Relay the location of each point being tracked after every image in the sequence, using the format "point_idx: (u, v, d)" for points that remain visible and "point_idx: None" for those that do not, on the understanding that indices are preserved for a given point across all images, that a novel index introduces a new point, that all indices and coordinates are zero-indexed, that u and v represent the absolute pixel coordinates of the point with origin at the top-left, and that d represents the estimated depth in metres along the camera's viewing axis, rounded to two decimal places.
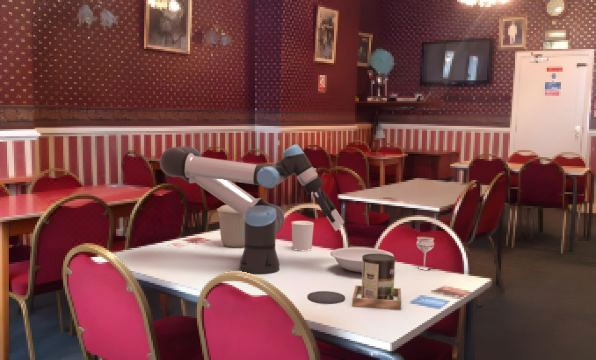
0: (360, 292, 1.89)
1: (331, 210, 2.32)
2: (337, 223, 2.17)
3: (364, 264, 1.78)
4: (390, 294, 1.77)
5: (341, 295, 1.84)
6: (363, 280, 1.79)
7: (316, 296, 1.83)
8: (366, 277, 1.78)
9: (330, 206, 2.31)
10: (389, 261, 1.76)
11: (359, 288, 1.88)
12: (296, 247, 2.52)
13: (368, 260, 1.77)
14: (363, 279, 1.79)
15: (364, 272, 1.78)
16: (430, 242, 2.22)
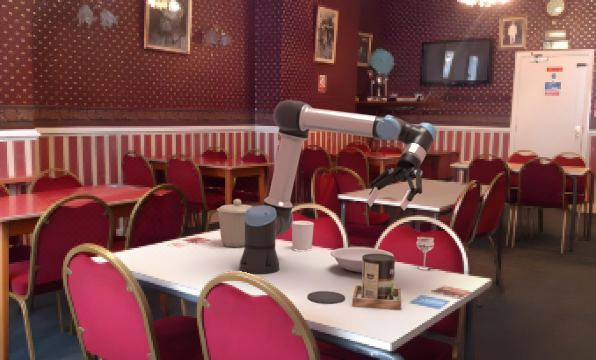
0: (360, 292, 1.89)
1: None
2: (406, 204, 1.89)
3: (364, 264, 1.78)
4: (390, 294, 1.77)
5: (341, 295, 1.84)
6: (363, 280, 1.79)
7: (316, 296, 1.83)
8: (366, 277, 1.78)
9: (382, 186, 2.01)
10: (389, 261, 1.76)
11: (359, 288, 1.88)
12: (296, 247, 2.52)
13: (368, 260, 1.77)
14: (363, 279, 1.79)
15: (364, 272, 1.78)
16: (430, 242, 2.22)
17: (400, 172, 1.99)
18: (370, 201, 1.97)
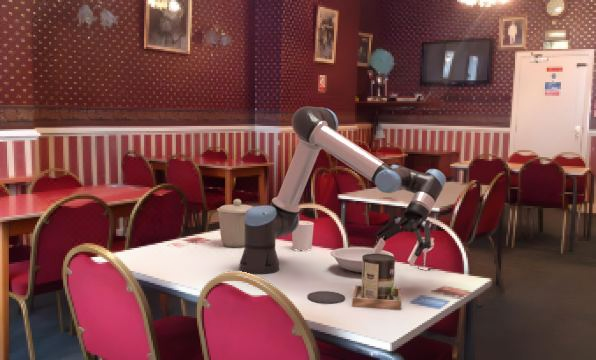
0: (360, 292, 1.89)
1: None
2: (414, 259, 1.80)
3: (364, 264, 1.78)
4: (390, 294, 1.77)
5: (341, 295, 1.84)
6: (363, 280, 1.79)
7: (316, 296, 1.83)
8: (366, 277, 1.78)
9: (388, 236, 1.91)
10: (389, 261, 1.76)
11: (359, 288, 1.88)
12: (296, 247, 2.52)
13: (368, 260, 1.77)
14: (363, 279, 1.79)
15: (364, 272, 1.78)
16: None
17: (407, 223, 1.89)
18: (376, 253, 1.88)
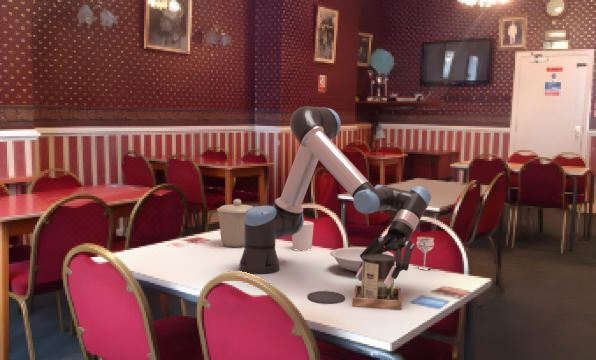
0: (360, 292, 1.89)
1: None
2: (391, 282, 1.76)
3: (364, 264, 1.78)
4: (390, 294, 1.77)
5: (341, 295, 1.84)
6: (363, 280, 1.79)
7: (316, 296, 1.83)
8: (366, 277, 1.78)
9: None
10: (389, 261, 1.76)
11: (359, 288, 1.88)
12: (296, 247, 2.52)
13: (368, 260, 1.77)
14: (363, 279, 1.79)
15: (364, 272, 1.78)
16: (430, 242, 2.22)
17: (391, 241, 1.85)
18: (360, 276, 1.82)
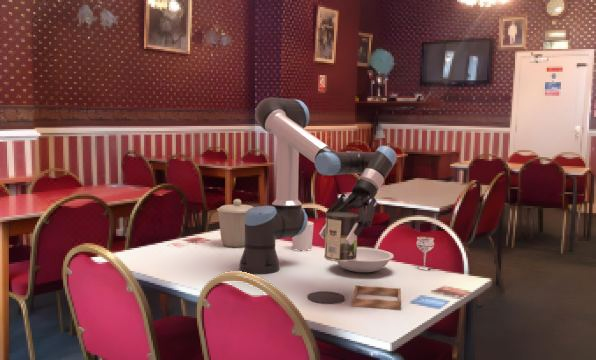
0: (360, 292, 1.89)
1: None
2: (353, 238, 1.76)
3: (327, 221, 1.78)
4: (352, 251, 1.77)
5: (341, 295, 1.84)
6: (326, 237, 1.79)
7: (316, 296, 1.83)
8: (329, 234, 1.77)
9: None
10: (352, 217, 1.75)
11: (359, 288, 1.88)
12: (296, 247, 2.52)
13: (331, 216, 1.76)
14: (326, 236, 1.79)
15: (327, 229, 1.78)
16: (430, 242, 2.22)
17: (355, 200, 1.84)
18: (323, 233, 1.82)
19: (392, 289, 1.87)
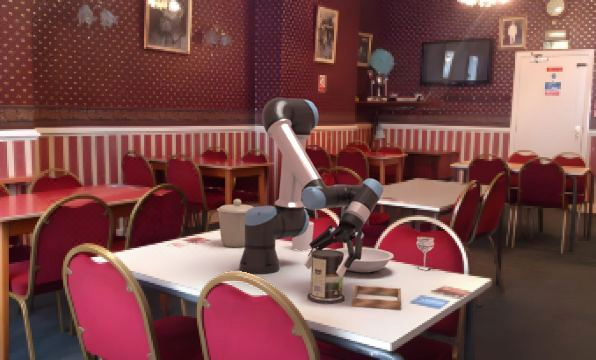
0: (360, 292, 1.89)
1: (315, 248, 1.88)
2: (344, 271, 1.77)
3: (312, 260, 1.80)
4: (338, 290, 1.79)
5: None
6: (312, 275, 1.81)
7: None
8: (314, 272, 1.79)
9: (322, 247, 1.88)
10: (336, 257, 1.77)
11: (359, 288, 1.88)
12: (296, 247, 2.52)
13: (316, 256, 1.78)
14: (312, 274, 1.81)
15: (312, 268, 1.80)
16: (430, 242, 2.22)
17: (341, 233, 1.86)
18: (308, 264, 1.85)
19: (392, 289, 1.87)
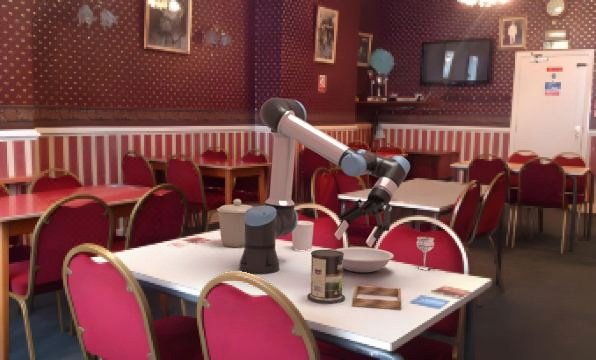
0: (360, 292, 1.89)
1: None
2: (373, 241, 1.88)
3: (312, 260, 1.80)
4: (338, 290, 1.79)
5: None
6: (312, 275, 1.81)
7: None
8: (314, 272, 1.79)
9: (351, 219, 1.99)
10: (336, 257, 1.77)
11: (359, 288, 1.88)
12: (296, 247, 2.52)
13: (316, 256, 1.78)
14: (311, 274, 1.81)
15: (312, 268, 1.80)
16: (430, 242, 2.22)
17: (370, 206, 1.97)
18: (338, 235, 1.96)
19: (392, 289, 1.87)
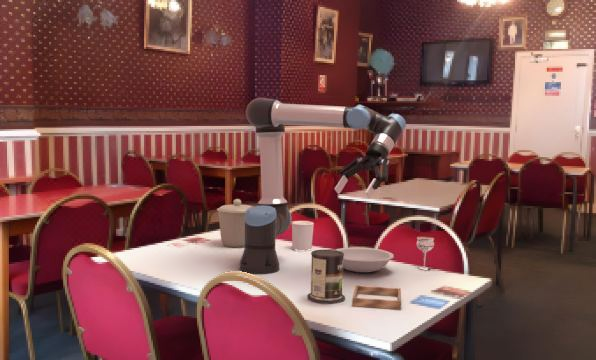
0: (360, 292, 1.89)
1: None
2: (372, 192, 1.94)
3: (312, 260, 1.80)
4: (338, 290, 1.79)
5: None
6: (312, 275, 1.81)
7: None
8: (314, 272, 1.79)
9: (350, 174, 2.06)
10: (336, 257, 1.77)
11: (359, 288, 1.88)
12: (296, 247, 2.52)
13: (316, 256, 1.78)
14: (312, 274, 1.81)
15: (312, 268, 1.80)
16: (430, 242, 2.22)
17: (368, 161, 2.04)
18: (338, 189, 2.03)
19: (392, 289, 1.87)
